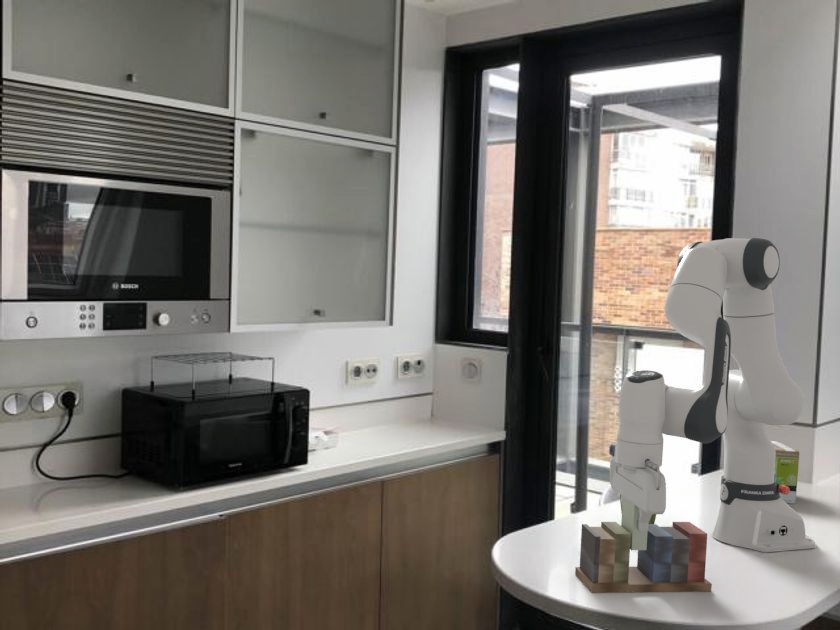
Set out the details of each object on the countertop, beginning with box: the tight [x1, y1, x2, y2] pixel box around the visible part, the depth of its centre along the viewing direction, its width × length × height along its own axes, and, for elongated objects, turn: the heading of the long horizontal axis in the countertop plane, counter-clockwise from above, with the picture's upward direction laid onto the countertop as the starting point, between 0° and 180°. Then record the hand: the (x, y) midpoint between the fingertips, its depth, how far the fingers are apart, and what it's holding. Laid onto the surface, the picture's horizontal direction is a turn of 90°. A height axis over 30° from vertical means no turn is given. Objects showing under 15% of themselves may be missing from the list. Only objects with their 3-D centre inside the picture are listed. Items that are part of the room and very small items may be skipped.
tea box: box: [770, 440, 800, 504], centre depth 249 cm, size 15×10×15 cm
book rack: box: [574, 521, 713, 594], centre depth 174 cm, size 24×10×11 cm, turn 98°
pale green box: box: [620, 497, 648, 551], centre depth 174 cm, size 3×6×9 cm, turn 8°
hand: (634, 524), depth 174 cm, fingers closed on pale green box, 6 cm apart
